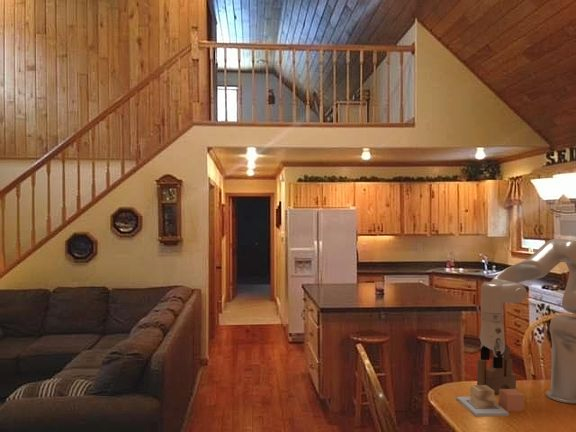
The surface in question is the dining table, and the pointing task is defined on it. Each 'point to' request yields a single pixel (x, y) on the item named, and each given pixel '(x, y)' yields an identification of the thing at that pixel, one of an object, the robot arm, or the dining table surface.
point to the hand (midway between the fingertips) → (491, 363)
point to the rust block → (511, 399)
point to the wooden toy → (497, 373)
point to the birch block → (482, 396)
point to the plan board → (482, 411)
